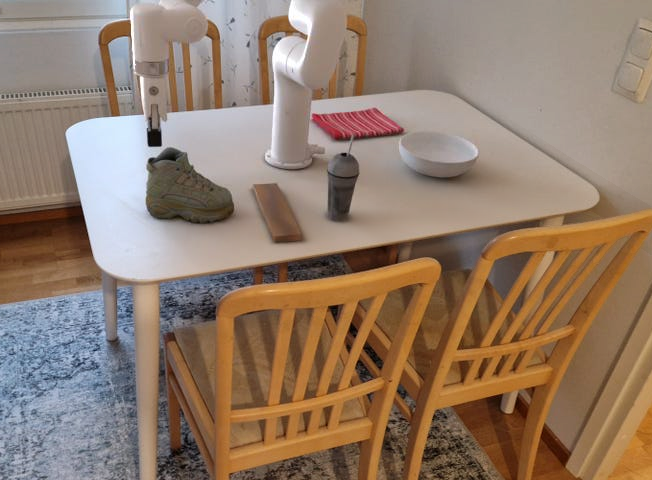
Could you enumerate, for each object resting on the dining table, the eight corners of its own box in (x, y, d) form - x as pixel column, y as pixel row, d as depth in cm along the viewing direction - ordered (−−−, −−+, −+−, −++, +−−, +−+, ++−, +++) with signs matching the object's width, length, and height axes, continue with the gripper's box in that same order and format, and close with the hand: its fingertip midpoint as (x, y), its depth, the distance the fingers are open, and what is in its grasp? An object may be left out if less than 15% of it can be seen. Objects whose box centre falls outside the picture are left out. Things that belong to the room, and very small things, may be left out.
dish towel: (308, 120, 194) (309, 112, 192) (376, 113, 202) (377, 105, 201) (333, 142, 181) (334, 133, 180) (404, 134, 189) (405, 126, 188)
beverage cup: (319, 208, 149) (328, 127, 137) (350, 208, 150) (361, 128, 138) (323, 224, 143) (333, 141, 131) (355, 224, 144) (367, 142, 132)
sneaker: (224, 231, 137) (225, 165, 130) (140, 218, 140) (136, 153, 132) (237, 211, 146) (239, 149, 139) (158, 200, 149) (156, 138, 142)
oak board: (276, 188, 156) (276, 183, 155) (301, 240, 137) (302, 234, 136) (252, 190, 154) (252, 184, 153) (274, 242, 135) (274, 236, 134)
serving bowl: (487, 171, 172) (493, 147, 168) (446, 195, 159) (452, 170, 155) (422, 146, 183) (427, 124, 179) (379, 166, 170) (383, 142, 166)
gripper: (172, 77, 132) (174, 158, 142) (166, 55, 143) (168, 132, 154) (135, 76, 130) (139, 159, 140) (132, 55, 142) (136, 133, 152)
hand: (154, 145), depth 147 cm, fingers closed
